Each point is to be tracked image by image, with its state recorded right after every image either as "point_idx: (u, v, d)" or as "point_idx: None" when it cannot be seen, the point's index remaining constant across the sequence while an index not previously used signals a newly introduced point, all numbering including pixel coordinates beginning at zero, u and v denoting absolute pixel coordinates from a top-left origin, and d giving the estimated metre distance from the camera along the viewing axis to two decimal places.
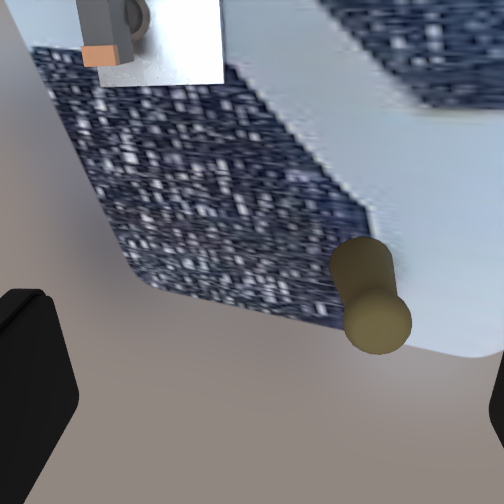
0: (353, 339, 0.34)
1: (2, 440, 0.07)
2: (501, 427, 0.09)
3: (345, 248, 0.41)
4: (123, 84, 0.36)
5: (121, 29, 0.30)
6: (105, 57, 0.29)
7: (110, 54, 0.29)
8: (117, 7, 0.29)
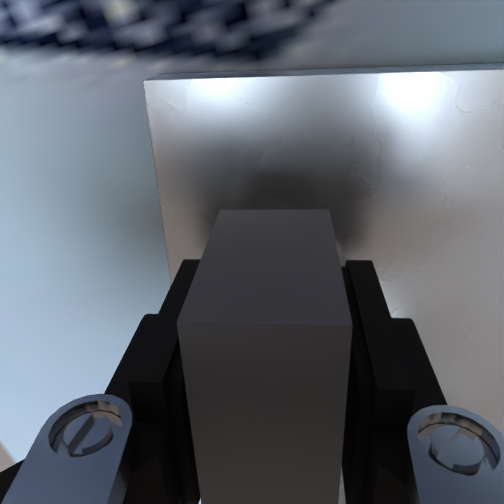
0: None
1: None
2: None
3: None
4: None
5: None
6: None
7: None
8: None
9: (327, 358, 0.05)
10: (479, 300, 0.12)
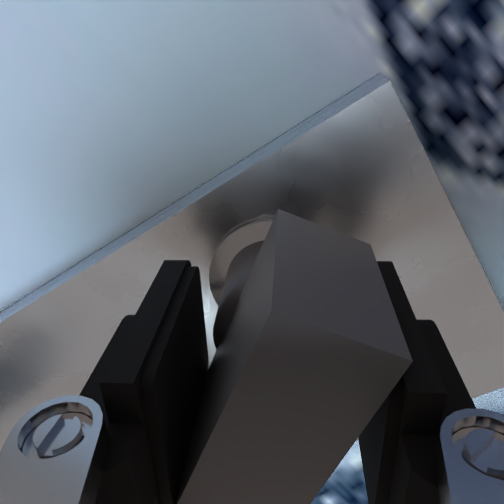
0: None
1: (182, 390, 0.08)
2: None
3: None
4: None
5: None
6: None
7: None
8: None
9: (377, 380, 0.06)
10: None
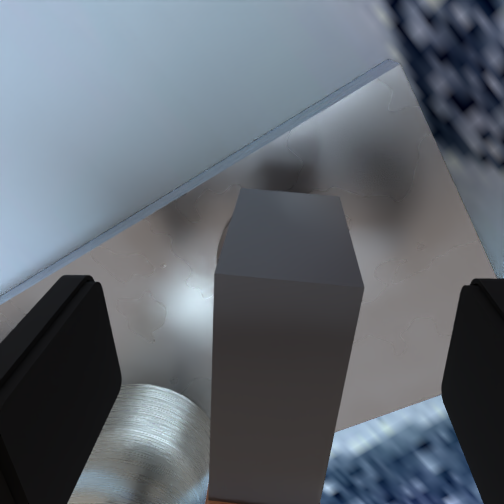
0: None
1: (64, 415, 0.08)
2: (450, 404, 0.09)
3: None
4: None
5: None
6: None
7: None
8: None
9: (338, 315, 0.06)
10: None
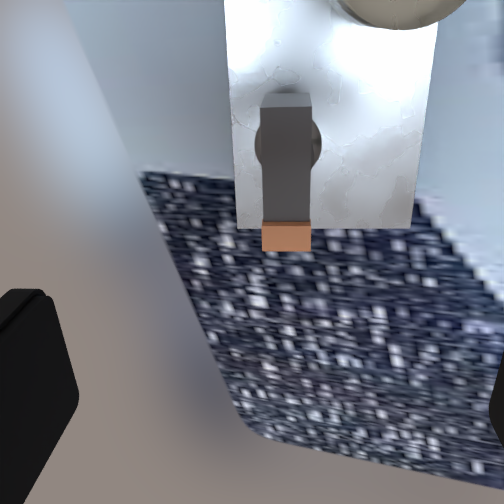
0: None
1: (2, 440, 0.07)
2: (501, 427, 0.09)
3: None
4: None
5: None
6: (295, 241, 0.19)
7: (304, 236, 0.19)
8: None
9: None
10: None
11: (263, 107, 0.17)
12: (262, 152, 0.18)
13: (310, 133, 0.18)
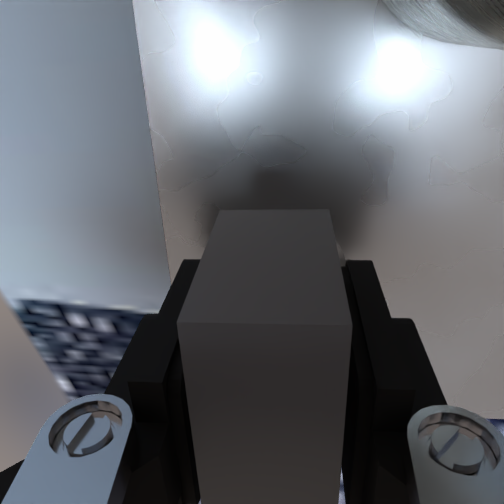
0: None
1: None
2: None
3: None
4: None
5: None
6: None
7: None
8: None
9: None
10: None
11: (189, 317, 0.05)
12: (194, 429, 0.06)
13: (343, 393, 0.05)
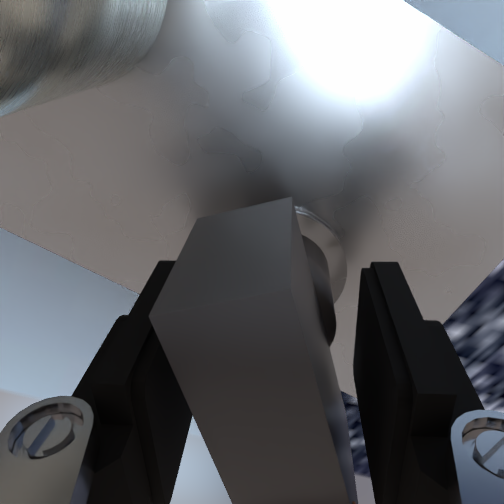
0: None
1: (175, 391, 0.08)
2: (356, 379, 0.10)
3: None
4: None
5: (336, 406, 0.09)
6: None
7: None
8: (324, 362, 0.08)
9: None
10: None
11: (159, 310, 0.06)
12: (192, 407, 0.07)
13: (304, 351, 0.06)
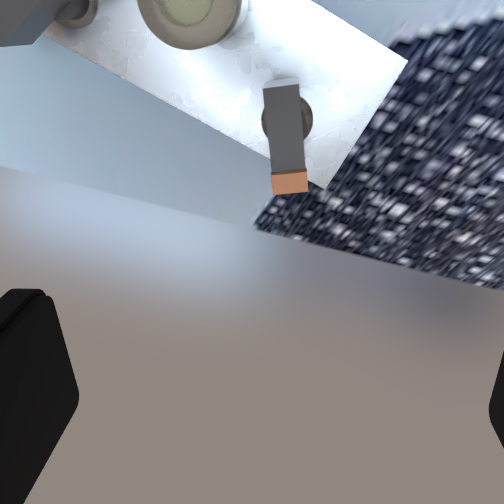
0: None
1: (2, 440, 0.07)
2: (501, 427, 0.09)
3: None
4: (337, 166, 0.33)
5: None
6: (297, 184, 0.26)
7: (302, 180, 0.26)
8: None
9: None
10: None
11: (264, 88, 0.25)
12: (266, 121, 0.25)
13: (299, 103, 0.25)
